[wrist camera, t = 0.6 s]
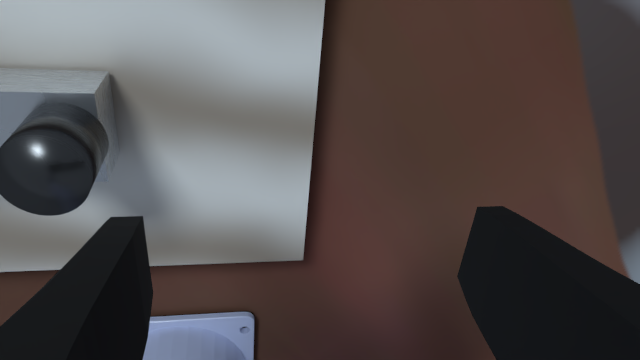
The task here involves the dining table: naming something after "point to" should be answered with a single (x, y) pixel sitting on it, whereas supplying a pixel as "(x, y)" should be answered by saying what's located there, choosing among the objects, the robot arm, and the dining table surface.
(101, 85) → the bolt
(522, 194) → the dining table surface
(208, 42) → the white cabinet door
